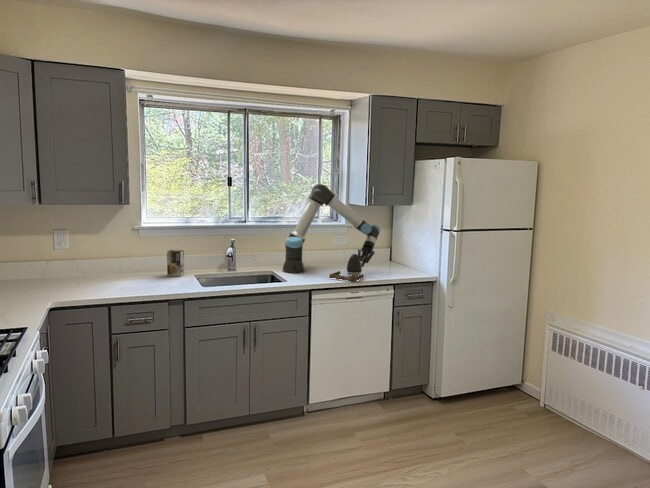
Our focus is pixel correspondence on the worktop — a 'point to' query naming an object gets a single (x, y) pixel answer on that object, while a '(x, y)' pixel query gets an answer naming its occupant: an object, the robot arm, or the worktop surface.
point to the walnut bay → (345, 277)
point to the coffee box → (175, 263)
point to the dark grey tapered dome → (354, 265)
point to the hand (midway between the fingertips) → (359, 269)
